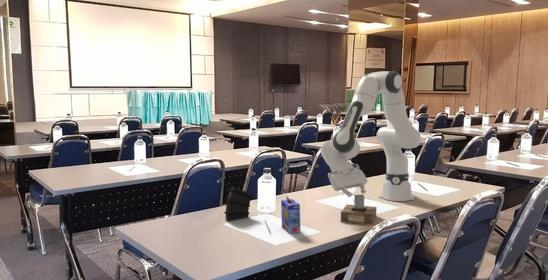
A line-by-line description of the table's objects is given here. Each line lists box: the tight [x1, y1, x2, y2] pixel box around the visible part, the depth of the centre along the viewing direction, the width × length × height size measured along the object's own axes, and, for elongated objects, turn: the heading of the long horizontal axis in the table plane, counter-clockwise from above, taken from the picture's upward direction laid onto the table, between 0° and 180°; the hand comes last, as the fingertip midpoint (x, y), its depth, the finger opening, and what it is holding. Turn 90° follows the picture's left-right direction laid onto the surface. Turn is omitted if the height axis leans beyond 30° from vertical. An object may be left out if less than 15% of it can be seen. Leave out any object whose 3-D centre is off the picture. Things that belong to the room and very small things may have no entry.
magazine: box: [224, 186, 254, 222], centre depth 211 cm, size 4×13×15 cm, turn 122°
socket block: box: [340, 204, 377, 226], centre depth 208 cm, size 14×14×4 cm
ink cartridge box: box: [280, 196, 301, 234], centre depth 193 cm, size 10×6×14 cm, turn 18°
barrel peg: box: [353, 194, 365, 212], centre depth 208 cm, size 4×4×11 cm
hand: (357, 194), depth 208 cm, fingers open, 8 cm apart
